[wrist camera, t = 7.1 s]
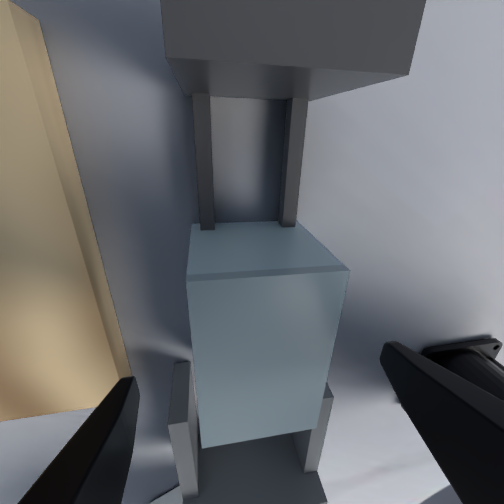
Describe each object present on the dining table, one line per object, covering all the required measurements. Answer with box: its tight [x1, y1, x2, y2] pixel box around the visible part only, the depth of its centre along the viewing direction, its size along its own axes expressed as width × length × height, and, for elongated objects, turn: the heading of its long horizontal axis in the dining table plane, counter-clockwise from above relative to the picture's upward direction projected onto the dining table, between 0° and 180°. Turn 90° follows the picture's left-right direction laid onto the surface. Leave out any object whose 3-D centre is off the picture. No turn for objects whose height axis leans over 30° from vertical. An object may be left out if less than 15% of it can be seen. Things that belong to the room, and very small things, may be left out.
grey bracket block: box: [160, 0, 426, 448], centre depth 10 cm, size 14×5×6 cm, turn 178°
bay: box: [168, 362, 334, 504], centre depth 15 cm, size 8×8×5 cm
